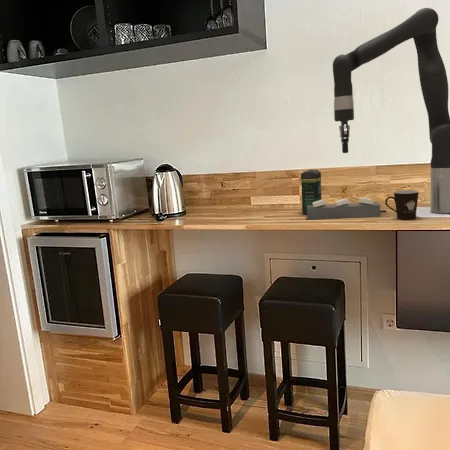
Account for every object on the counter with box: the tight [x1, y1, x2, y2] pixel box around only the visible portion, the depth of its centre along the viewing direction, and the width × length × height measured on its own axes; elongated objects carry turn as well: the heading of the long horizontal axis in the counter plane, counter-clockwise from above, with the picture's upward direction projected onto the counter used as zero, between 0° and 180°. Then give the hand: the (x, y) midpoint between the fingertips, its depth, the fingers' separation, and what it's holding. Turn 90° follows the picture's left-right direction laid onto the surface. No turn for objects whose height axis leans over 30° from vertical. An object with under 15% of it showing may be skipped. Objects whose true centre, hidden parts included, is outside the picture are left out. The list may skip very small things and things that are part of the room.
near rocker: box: [358, 196, 375, 205], centre depth 190 cm, size 5×4×2 cm
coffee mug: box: [385, 189, 420, 221], centre depth 180 cm, size 12×9×10 cm
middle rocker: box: [335, 197, 351, 206], centre depth 192 cm, size 5×4×2 cm
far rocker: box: [313, 198, 327, 207], centre depth 193 cm, size 5×4×2 cm
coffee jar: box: [300, 169, 323, 215], centre depth 205 cm, size 10×8×19 cm
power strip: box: [306, 201, 388, 221], centre depth 194 cm, size 31×8×5 cm, turn 80°
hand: (345, 152), depth 193 cm, fingers closed
